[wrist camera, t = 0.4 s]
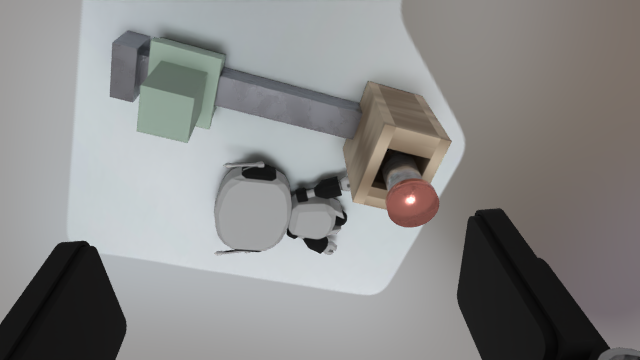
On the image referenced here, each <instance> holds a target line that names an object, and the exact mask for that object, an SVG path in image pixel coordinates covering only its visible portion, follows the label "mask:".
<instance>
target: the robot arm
mask: <svg viewBox="0 0 640 360" xmlns="http://www.w3.org/2000/svg"><path fill="white" fill-rule="evenodd" d="M457 299H458V304H459V307H460V310H461V312H462V314H463V317H464V319H465V321H466V324H467V326H468V328H469V331H470V333H471V335H472V338H473V340H474V342H475V345H476V347H477V349H478V351H479V354H480V356H481V358H482V360H640V351H637V350H634V349H628V348H613V349H610V347H609V346H608V345H607V343H606V342H605V341H604V339H603V338H602V337H601V335H600V334H599V333H598V331H597V330H596V329H595V327H594V326H593V324H592V323H591V322H590V321H589V319H588V318H587V316H586V315H585V314H584V312H583V311H582V310H581V308H580V307H579V306H578V304H577V303H576V302H575V300H574V299H573V297H572V296H571V295H570V293H569V292H568V291H567V289H566V288H565V287H564V285H563V284H562V283H561V281H560V280H559V279H558V277H557V276H556V274H555V273H554V272H553V271H552V269H551V268H550V266H549V265H548V264H547V263H546V262H545V261H544V260H543V259H541V258H537V257H536V255H535V254H534V252H533V251H532V249H531V248H530V247H529V245H528V244H527V243H526V241H525V240H524V238H523V237H522V236H521V234H520V233H519V231H518V230H517V229H516V227H515V226H514V225H513V223H512V222H511V220H510V219H509V218H508V216H507V215H506V214H505V212H504V211H503V210H502V209H500V208H498V209H485V210H478V211H476V213H475V216H471V217H469V219H468V224H467V230H466V237H465V244H464V250H463V257H462V264H461V271H460V278H459V284H458V290H457ZM126 326H127V325H126V319H125V317H124V315H123V312H122V310H121V307H120V305H119V302H118V300H117V297H116V295H115V292H114V290H113V288H112V285H111V283H110V280H109V278H108V276H107V273H106V270H105V268H104V266H103V263H102V261H101V258H100V256H99V253H98V251H97V249H96V248H95V247H94V246H90V245H89V243H87V242H86V241H74V242H61V243H59V244H58V245H57V246H56V247H55V248H54V250H53V251H52V252H51V254H50V255H49V257H48V258H47V259H46V261H45V262H44V264H43V265H42V266H41V268H40V269H39V271H38V272H37V273H36V275H35V276H34V278H33V279H32V281H31V282H30V283H29V285H28V286H27V287H26V289H25V290H24V292H23V293H22V295H21V296H20V297H19V299H18V300H17V301H16V303H15V304H14V306H13V307H12V308H11V310H10V311H9V313H8V314H7V315H6V317H5V318H4V320H3V321H2V322H1V324H0V360H115V359H116V357H117V354H118V352H119V349H120V347H121V344H122V342H123V339H124V336H125V334H126Z"/></svg>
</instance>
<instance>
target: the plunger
mask: <svg viewBox="0 0 640 360" xmlns="http://www.w3.org/2000/svg"><path fill="white" fill-rule="evenodd" d="M381 171H382V174H383V177H384V181H385V184H386V187H387V190H388V194H387V196H386V200H385V203H386V208H387V211H388V215H389V217H390V219H391V220H392V221H393V222H394V223H396V224H397V225H399V226H403V227H417V226H420V225H423V224H425V223H427V222H428V221H430V220H431V219H432V218H433V217H434V216H435V214H436V213H437V211H438V208H439V198H438V196H437V194H436V192H435V190H434V188H433V186H432V185H431V184H430V183H429V182H427V181H425V180H423V179H422V177H421V175H420V172H419V170H418V168H417V166H416V164H415V161H414V159H413V158H412V157H411V156H410V155H409V154H407V153H403V152H398V153H394V154H391V155H389V156H388V157H387V158H386V159H385V160H384V161H383V163H382V167H381Z"/></svg>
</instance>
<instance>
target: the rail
mask: <svg viewBox="0 0 640 360" xmlns="http://www.w3.org/2000/svg"><path fill="white" fill-rule="evenodd" d="M149 45H150V37H149V36H146V35H142V34H138V33H135V32H131V31H127V32H125V33H124V34H123V35H122V36H120V37H119V38H118V39H116V40H115V41H114V42H113V43H112V62H111V82H110V97H113V98H117V99H121V100H125V101H130V102H134V100H135V99H136V98H137V97H138V95H139V94H140V87H141V84H142V83H143V82H144V81H145V79H146V78H147V77H148V67H149V56H150V47H149ZM215 105H216V106H220V107H224V108H228V109H232V110H236V111H240V112H244V113H248V114H252V115H256V116H260V117H264V118H268V119H272V120H276V121H280V122H284V123H287V124H291V125H295V126H299V127H303V128H307V129H311V130H315V131H319V132H323V133H327V134H331V135H335V136H339V137H343V138H347V139H351V140H353V138H354V135H355V133H356V130H357V128H358V125H359V122H360V120H361V117H362V114H363V113H362V110H361V106H360V104H359V103H355V102H352V101H348V100H344V99H341V98H337V97H333V96H329V95H326V94H322V93H318V92H314V91H311V90H307V89H303V88H300V87H296V86H292V85H288V84H285V83H281V82H277V81H274V80H270V79H266V78H262V77H259V76H255V75H251V74H247V73H244V72H240V71H236V70H233V69H229V68H225V67H223V69H222V71H221V73H220V78H219V83H218V89H217V94H216V100H215Z"/></svg>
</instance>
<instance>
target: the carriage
mask: <svg viewBox="0 0 640 360" xmlns="http://www.w3.org/2000/svg"><path fill="white" fill-rule="evenodd" d="M225 57H226V55H223V54H219V53H216V52H212V51H208V50H205V49H201V48H198V47H194V46H190V45H187V44H183V43H179V42H176V41H172V40H168V39H165V38H160V39H159V38H155V37H154V38H153V39H152V40H151V46H150V56H149V67H148V77H147V78H146V79H145V81H144V82H143V83H142V84H141V87H140V99H139V110H138V122H137V131H138V132H142V133H146V134H151V135H155V136H159V137H163V138H168V139H172V140H176V141H181V142H185V143H188V141H189V139H190V136H191V134H192V132H193V130H194V127H195V126H196V127H201V128H205V129H209V128H210V126H211V121H212V117H213V115H214V112H215V109H216V105H215V100H216V94H217V89H218V83H219V78H220V73H221V71H222V69H223V66H224V63H225Z"/></svg>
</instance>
